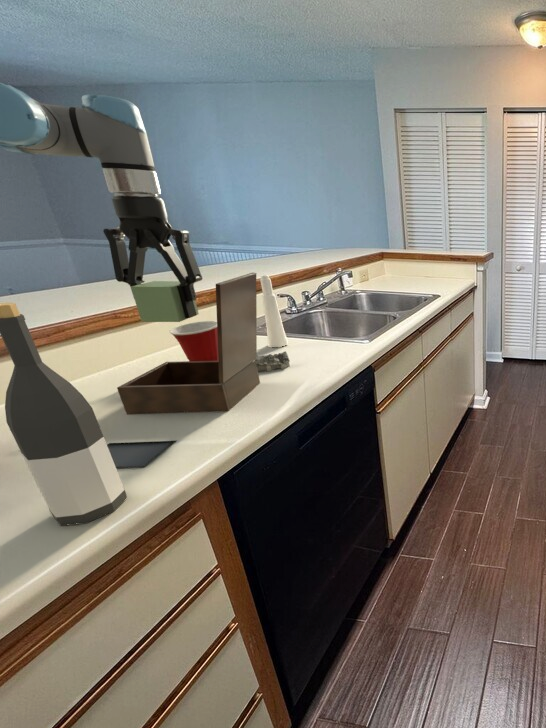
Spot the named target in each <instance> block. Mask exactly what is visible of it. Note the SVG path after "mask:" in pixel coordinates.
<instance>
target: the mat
mask: <svg viewBox="0 0 546 728" xmlns="http://www.w3.org/2000/svg"><path fill="white" fill-rule="evenodd" d="M176 442H177V440H158V441H157V440H156V441H153V440H152V441H129V442H127V441H126V442H109V443H108V444H107V443H106V444H107V447H108V449H109V452H110V454H111V457H112V459H113V462H114V464H115V467H116V469H117V470H118V469H137V468H146V467H147V466H148V465H149V464H151V463H153V461H154V460H155V459H156V458H158V457H159V456H160V455H162V453H164V452H165V451H166V450H167V449H168V448H171V446H172V445H174V444H175V443H176Z"/></svg>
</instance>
